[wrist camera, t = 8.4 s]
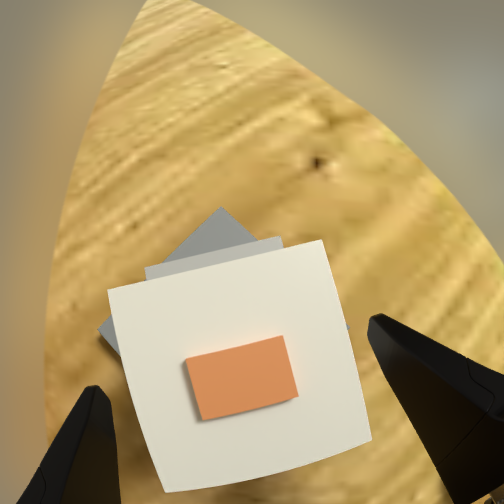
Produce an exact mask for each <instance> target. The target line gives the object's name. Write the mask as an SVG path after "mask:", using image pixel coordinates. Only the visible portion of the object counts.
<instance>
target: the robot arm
mask: <svg viewBox="0 0 504 504" xmlns="http://www.w3.org/2000/svg"><path fill="white" fill-rule="evenodd" d="M367 336H368V340H369V342H370V345H371V347H372V349H373V351H374V353H375V356H376V358H377V360H378V362H379V365H380V367H381V369H382V371H383V374H384V376H385V378H386V379H387V381H388V383H389V385H390V386H391V388H392V390H393V392H394V393H395V395H396V397H397V398H398V400H399V402H400V404H401V405H402V407H403V409H404V411H405V413H406V414H407V416H408V418H409V420H410V421H411V423H412V425H413V427H414V429H415V430H416V432H417V434H418V436H419V438H420V439H421V441H422V443H423V445H424V447H425V449H426V450H427V452H428V454H429V456H430V458H431V460H432V462H433V464H434V465H435V467H436V470H437V471H438V473H439V475H440V477H441V479H442V481H443V483H444V485H445V487H446V489H447V491H448V493H449V495H450V497H451V499H452V501H453V503H454V504H471V503H473V502H475V501H477V500H478V499H480V498H482V497H484V496H485V495H487V494H490V496H491V497H490V498H489V499H488V500H486V501H485V502H484V504H504V375H503V374H501V373H498V372H496V371H494V370H491V369H489V368H487V367H485V366H483V365H481V364H479V363H477V362H475V361H473V360H471V359H469V358H466V357H465V356H463V355H461V354H459V353H457V352H456V351H454V350H452V349H450V348H448V347H446V346H444V345H442V344H440V343H438V342H436V341H434V340H433V339H431V338H429V337H427V336H425V335H423V334H421V333H419V332H417V331H415V330H413V329H411V328H410V327H408V326H406V325H404V324H402V323H400V322H398V321H396V320H394V319H392V318H390V317H388V316H386V315H385V314H382V313H380V314H377V315H374V316H372V317H370V319H369V326H368V332H367ZM16 504H121V497H120V487H119V475H118V461H117V445H116V437H115V430H114V423H113V416H112V408H111V402H110V400H109V398H108V397H107V396H106V394H105V393H104V392H103V391H102V389H101V388H100V387H99V386H97V385H92V386H87V387H86V388H85V389H84V391H83V392H82V394H81V395H80V397H79V399H78V400H77V402H76V404H75V405H74V407H73V408H72V410H71V412H70V413H69V415H68V417H67V418H66V420H65V422H64V423H63V425H62V427H61V428H60V430H59V432H58V433H57V435H56V437H55V439H54V440H53V442H52V444H51V446H50V447H49V449H48V451H47V453H46V454H45V456H44V458H43V460H42V461H41V463H40V467H38V469H37V471H36V472H35V474H34V476H33V478H32V479H31V481H30V483H29V485H28V486H27V488H26V489H25V491H24V492H23V494H22V496H21V497H20V499H19V500H18V502H17V503H16Z"/></svg>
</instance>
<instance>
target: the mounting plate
mask: <svg viewBox="0 0 504 504" xmlns="http://www.w3.org/2000/svg"><path fill="white" fill-rule="evenodd" d="M283 248H284V247H283V244H282V240H281V237H280V236H277V237H272V238H268V239H264V240H259V241H258V240H257V239H256V238H255V237H254V236H253V235H251V234H250V233H249V232H248V231H247V230H246V229H245V228H244V227H243V226H242V225H241V224H240V223H239V222H237V221H236V220H235V219H234V218H233V217H232V216H231V215H230V214H229V213H228V212H227V211H226V210H224V209H223V208H222V207H220V208H219V209H218V210H216V211H215V212H214V213H213V214H212V215H211V216H210V217H209V218H208V219H207V220H206V221H205V222H204V223H203V224H202V225H201V226H199V227H198V228H197V229H196V230H195V231H194V232H193V233H192V234H191V235H190V236H189V237H188V238H187V239H186V240H185V241H184V242H183V243H182V244H181V245H180V246H179V247H178V248H177V249H176V250H175V251H174V252H173V253H171V254H170V255H169V256H168V257H167V258H166V259H165V260H164V261H163V262H162V263H161V264H157V265H153V266H149V267H145V273H146V279H145V280H144V281H148V280H152V279H156V278H160V277H165V276H169V275H173V274H178V273H182V272H186V271H190V270H195V269H199V268H203V267H207V266H212V265H216V264H220V263H224V262H229V261H233V260H237V259H241V258H245V257H250V256H254V255H258V254H262V253H267V252H271V251H275V250H279V249H283ZM346 327H347V330H348V329H349V328H350V327H349V326H348V325H347V324H346ZM97 330H98V331H99V332H100V333H101V334H102V336H103V337H104V338H105V339H106V340H107V341H108V343H109V344H110V345H111V346H112V347H113V348H114V350H115V351H116V352H117V353H118V354H119V355H120V351H119V346H118V342H117V337H116V333H115V328H114V323H113V318H112V314H111V316H110V317H109V318H108V319H107V320H106V321H105V322H104V323H103V324H102V325H101V326H100V327H99V328H98V329H97ZM120 356H121V355H120Z"/></svg>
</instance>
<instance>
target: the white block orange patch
mask: <svg viewBox="0 0 504 504" xmlns="http://www.w3.org/2000/svg"><path fill="white" fill-rule="evenodd" d="M108 296H109V302H110V307H111V313H112V318H113V323H114V328H115V333H116V337H117V342H118V346H119V351H120V355H121V359H122V363H123V367H124V371H125V375H126V379H127V382H128V386H129V390H130V393H131V397H132V400H133V404H134V407H135V410H136V414H137V417H138V420H139V423H140V426H141V429H142V432H143V435H144V438H145V441H146V444H147V447H148V449H149V452H150V455H151V458H152V460H153V463H154V466H155V468H156V471H157V473H158V476H159V478H160V481H161V483H162V486H163V488H164V490H165V493H167V492H178V491H187V490H194V489H202V488H208V487H215V486H221V485H226V484H231V483H237V482H241V481H246V480H251V479H255V478H259V477H264V476H268V475H272V474H275V473H279V472H283V471H286V470H290V469H293V468H297V467H300V466H303V465H307V464H310V463H313V462H316V461H319V460H322V459H325V458H328V457H330V456H333V455H336V454H339V453H341V452H344V451H347V450H349V449H352V448H354V447H357V446H359V445H362V444H364V443H366V442H369V441H371V440H372V437H371V432H370V427H369V422H368V417H367V412H366V407H365V402H364V398H363V393H362V389H361V384H360V380H359V375H358V371H357V367H356V363H355V359H354V354H353V350H352V346H351V342H350V338H349V334H348V331H347V327H346V323H345V319H344V315H343V312H342V308H341V304H340V301H339V297H338V293H337V290H336V286H335V283H334V279H333V276H332V273H331V269H330V266H329V262H328V259H327V256H326V252H325V249H324V246H323V243H322V239H321V240H317V241H313V242H309V243H304V244H300V245H296V246H292V247H288V248H283V249H279V250H275V251H271V252H267V253H262V254H258V255H254V256H250V257H245V258H241V259H237V260H233V261H229V262H224V263H220V264H216V265H212V266H207V267H203V268H199V269H195V270H190V271H186V272H182V273H178V274H173V275H169V276H165V277H160V278H156V279H152V280H148V281H143V282H139V283H135V284H130V285H126V286H122V287H118V288H113V289H109V290H108Z"/></svg>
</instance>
